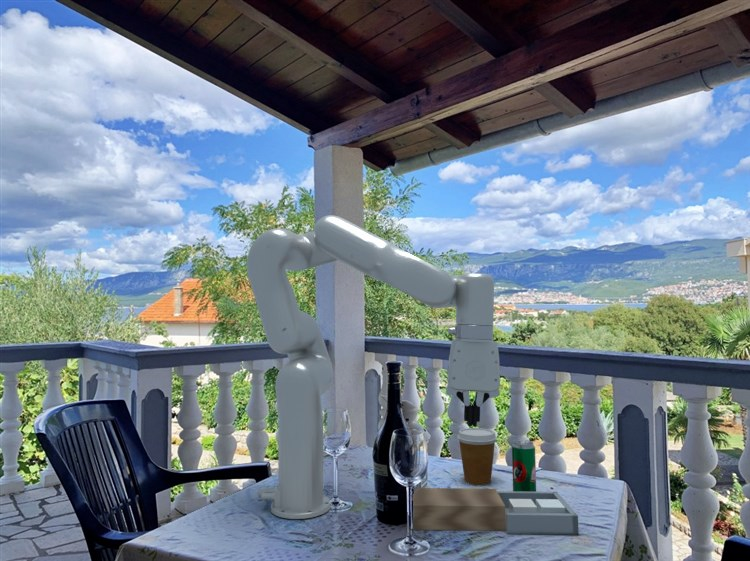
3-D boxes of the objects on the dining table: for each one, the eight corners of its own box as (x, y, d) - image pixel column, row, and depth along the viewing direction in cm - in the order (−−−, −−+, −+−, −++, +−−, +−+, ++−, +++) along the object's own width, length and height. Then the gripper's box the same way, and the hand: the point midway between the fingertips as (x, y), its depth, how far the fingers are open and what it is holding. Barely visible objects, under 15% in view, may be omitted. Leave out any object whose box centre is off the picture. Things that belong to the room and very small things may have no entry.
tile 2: (565, 507, 100) (565, 523, 100) (558, 499, 104) (558, 514, 104) (541, 507, 100) (542, 523, 100) (535, 499, 104) (536, 514, 104)
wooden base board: (410, 529, 98) (410, 505, 99) (409, 509, 108) (409, 487, 109) (505, 530, 97) (505, 506, 98) (496, 510, 107) (495, 488, 108)
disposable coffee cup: (451, 477, 129) (450, 429, 130) (485, 474, 132) (484, 426, 133) (469, 489, 120) (468, 437, 121) (505, 485, 123) (504, 434, 124)
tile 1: (513, 522, 100) (513, 506, 100) (509, 513, 105) (508, 498, 105) (537, 523, 100) (536, 507, 100) (531, 514, 104) (531, 499, 105)
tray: (507, 534, 96) (507, 514, 96) (494, 508, 109) (494, 491, 109) (578, 535, 95) (578, 515, 95) (557, 508, 108) (556, 491, 108)
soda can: (537, 500, 113) (536, 445, 114) (513, 499, 114) (512, 444, 115) (535, 493, 118) (533, 439, 119) (512, 491, 119) (511, 438, 120)
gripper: (438, 333, 102) (435, 427, 101) (515, 336, 101) (513, 431, 100) (436, 331, 109) (433, 419, 108) (507, 334, 108) (505, 423, 107)
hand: (471, 425), depth 104 cm, fingers closed
